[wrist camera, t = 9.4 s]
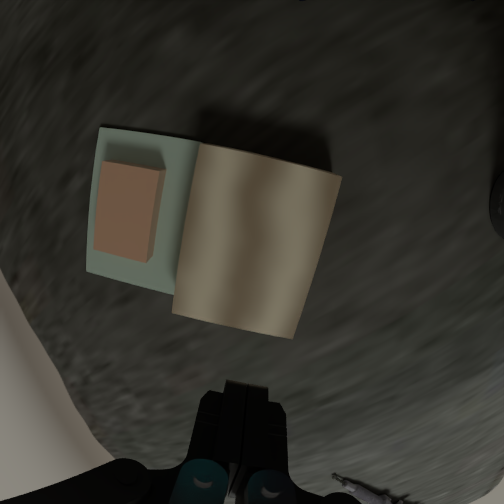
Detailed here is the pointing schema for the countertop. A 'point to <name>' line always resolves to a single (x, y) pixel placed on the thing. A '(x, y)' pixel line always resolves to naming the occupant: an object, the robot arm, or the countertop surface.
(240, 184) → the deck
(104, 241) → the tile
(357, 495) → the adjustable rod
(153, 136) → the mat
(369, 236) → the countertop surface
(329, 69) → the countertop surface
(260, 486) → the robot arm
